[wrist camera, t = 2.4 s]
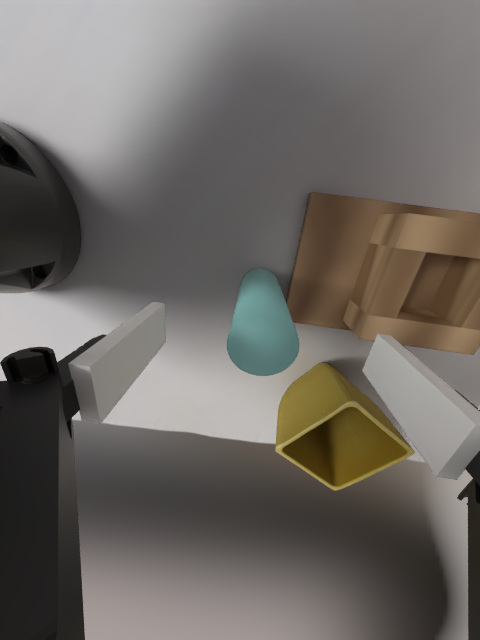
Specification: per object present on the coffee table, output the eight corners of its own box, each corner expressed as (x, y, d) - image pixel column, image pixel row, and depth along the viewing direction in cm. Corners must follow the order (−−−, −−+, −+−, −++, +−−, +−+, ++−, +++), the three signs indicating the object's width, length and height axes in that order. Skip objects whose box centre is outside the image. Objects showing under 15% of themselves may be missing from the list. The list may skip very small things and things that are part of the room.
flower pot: (314, 420, 30) (335, 494, 22) (268, 385, 28) (273, 451, 20) (369, 384, 27) (417, 454, 19) (322, 341, 25) (353, 399, 17)
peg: (238, 302, 24) (224, 370, 13) (243, 265, 22) (230, 308, 11) (275, 307, 24) (290, 380, 13) (282, 271, 22) (307, 319, 11)
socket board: (282, 317, 24) (288, 339, 20) (309, 193, 19) (325, 185, 15) (427, 337, 24) (467, 364, 20) (492, 217, 19) (566, 215, 15)
